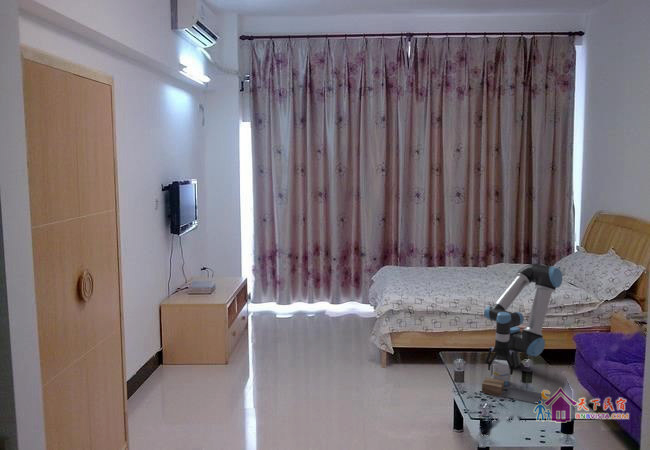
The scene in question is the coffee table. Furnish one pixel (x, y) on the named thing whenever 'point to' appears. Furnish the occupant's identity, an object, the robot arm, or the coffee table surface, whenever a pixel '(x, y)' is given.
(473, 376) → the coffee table surface
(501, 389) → the walnut step
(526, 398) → the mat
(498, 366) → the ink box
